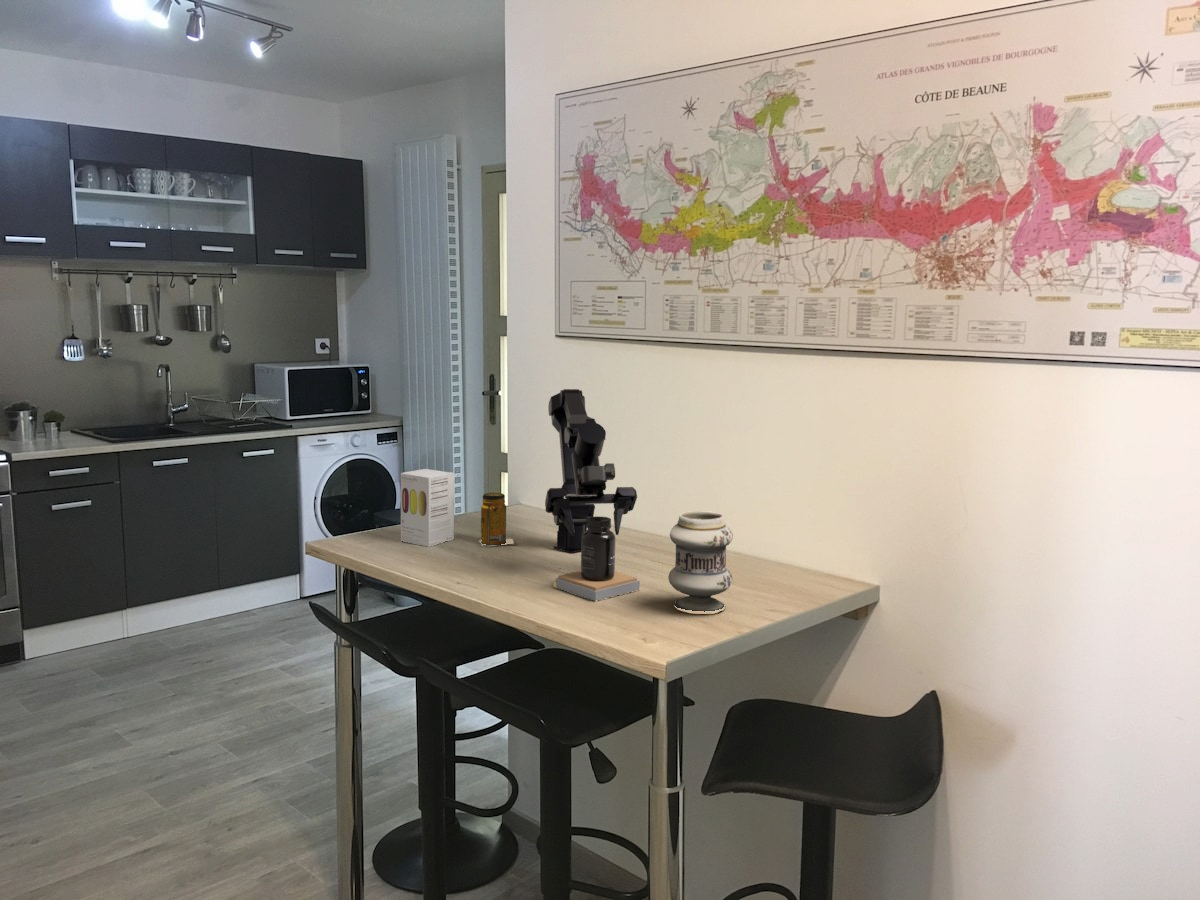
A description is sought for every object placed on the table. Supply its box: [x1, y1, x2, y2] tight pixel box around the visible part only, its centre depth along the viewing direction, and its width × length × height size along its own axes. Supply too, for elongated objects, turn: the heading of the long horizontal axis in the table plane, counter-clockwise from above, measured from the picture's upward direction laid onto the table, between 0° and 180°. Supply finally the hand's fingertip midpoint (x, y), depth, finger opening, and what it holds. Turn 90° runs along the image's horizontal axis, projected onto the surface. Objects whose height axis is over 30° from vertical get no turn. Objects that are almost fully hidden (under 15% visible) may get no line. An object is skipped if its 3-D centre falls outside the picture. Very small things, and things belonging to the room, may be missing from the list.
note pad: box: [553, 570, 641, 602], centre depth 188 cm, size 12×12×3 cm
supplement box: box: [400, 468, 455, 548], centre depth 225 cm, size 10×9×17 cm
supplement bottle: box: [580, 516, 616, 581], centre depth 187 cm, size 7×7×12 cm
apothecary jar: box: [667, 510, 734, 612], centre depth 177 cm, size 12×12×18 cm
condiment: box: [480, 492, 518, 547], centre depth 225 cm, size 7×8×12 cm
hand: (595, 534), depth 191 cm, fingers open, 9 cm apart
